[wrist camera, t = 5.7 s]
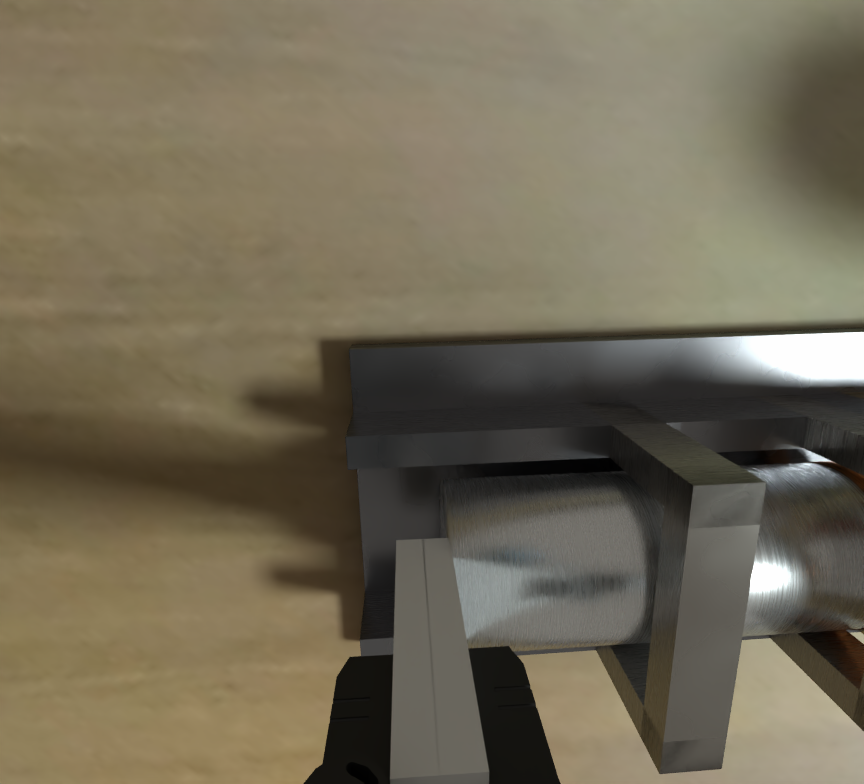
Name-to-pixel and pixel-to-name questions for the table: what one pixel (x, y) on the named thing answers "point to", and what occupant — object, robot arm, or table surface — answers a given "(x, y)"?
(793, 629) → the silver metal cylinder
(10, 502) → the table surface
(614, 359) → the grey slotted rack
